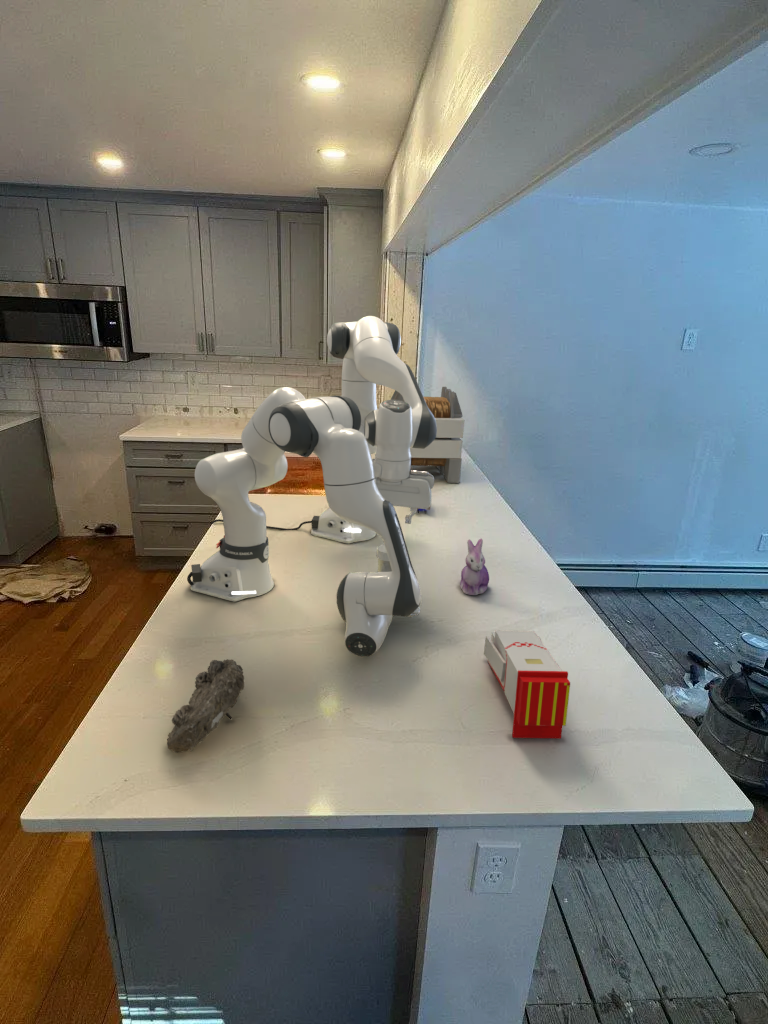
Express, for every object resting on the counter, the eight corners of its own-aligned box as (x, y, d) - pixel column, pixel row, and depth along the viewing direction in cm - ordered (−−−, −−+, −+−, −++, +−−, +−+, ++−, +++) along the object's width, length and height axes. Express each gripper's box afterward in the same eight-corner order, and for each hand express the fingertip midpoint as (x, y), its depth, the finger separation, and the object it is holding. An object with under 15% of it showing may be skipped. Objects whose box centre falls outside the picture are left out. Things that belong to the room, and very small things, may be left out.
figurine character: (431, 519, 219) (427, 502, 232) (432, 501, 216) (429, 485, 229) (413, 518, 219) (411, 501, 232) (415, 500, 215) (412, 484, 229)
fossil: (192, 660, 117) (244, 628, 112) (224, 691, 120) (276, 661, 115) (142, 746, 98) (202, 712, 93) (182, 779, 101) (242, 748, 96)
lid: (396, 551, 150) (396, 543, 149) (402, 560, 145) (402, 552, 144) (374, 552, 149) (374, 544, 148) (379, 562, 143) (379, 553, 143)
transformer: (382, 463, 289) (386, 382, 275) (445, 464, 293) (451, 384, 279) (390, 482, 257) (394, 392, 243) (460, 483, 261) (468, 394, 247)
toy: (532, 614, 131) (579, 678, 101) (527, 667, 134) (572, 745, 104) (479, 613, 130) (512, 677, 101) (476, 667, 133) (506, 744, 104)
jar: (392, 600, 154) (395, 545, 149) (396, 609, 150) (400, 553, 144) (374, 601, 153) (376, 546, 148) (378, 610, 149) (381, 554, 143)
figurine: (471, 599, 156) (476, 549, 151) (450, 583, 165) (454, 536, 160) (498, 593, 160) (504, 544, 155) (476, 578, 169) (481, 531, 164)
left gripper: (419, 605, 135) (426, 579, 148) (336, 593, 138) (350, 569, 151) (417, 628, 137) (425, 601, 150) (335, 616, 141) (350, 590, 153)
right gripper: (436, 468, 140) (431, 521, 145) (355, 461, 143) (353, 512, 148) (433, 475, 134) (429, 529, 139) (349, 467, 137) (348, 521, 142)
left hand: (387, 585), depth 151 cm, fingers open, 7 cm apart
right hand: (389, 521), depth 143 cm, fingers open, 8 cm apart
